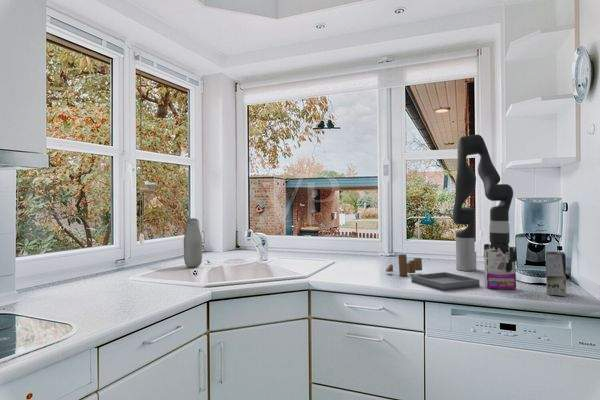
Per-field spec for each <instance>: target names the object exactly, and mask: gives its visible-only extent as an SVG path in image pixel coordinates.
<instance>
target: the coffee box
mask: <svg viewBox="0 0 600 400" xmlns="http://www.w3.org/2000/svg"><path fill="white" fill-rule="evenodd" d="M566 255H567V254H565V252H564V251H545V270H546V271H545V281H546V283H545V284H546V294H547V295H552V296H562V297H565V296H566V295H567V267H566V266H567V261H566V260H567V259H566V257H567V256H566Z"/></svg>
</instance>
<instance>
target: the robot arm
mask: <svg viewBox="0 0 600 400" xmlns="http://www.w3.org/2000/svg"><path fill="white" fill-rule="evenodd" d="M488 150H489V149H488V147H487V145H486V142H485V140H484V138H483V137H482V135H481V134H472V135H471V134H470V135H465V136H464V135H463V136H460V137H459V138H458V140H457V154H456V155H457V156H456V157H457V159H456V160H457V165H456V175H455V176H456V178H455V193H454V205H453V210H452V211H453V212H452V221H453V223H454V224H455V225H460V226H461V225H462V226H463V225H467V227H465V228H463V229H462V230H458V231H456V233H455V251H456V252H455V257H456V258H455V268H456V270H458V271H463V272H465V271H467V272H471V271H476V270H477V251H476V249H475V248H476V245H475V241H476V240H475V238H476V237H475V236H476V235H475V230H476V229H475V228H476V227H475V224H476V210H475V209H474V207H470V206H469V207H464V206H463V204H464V203H465V202H466V200H467V199H469V198H470V197H471V196H472V194H473V193H474V191H475V190H476V183H477V176H476V174H475V172H474V170H473V169H472V168H471V167H470V165H469V164H468V162H467V161H468V160H467V158H468V156H472V155H473V156H474V155H479V157H480V158H479V162H478V164H477V173H478V176H479V177H480V179H481V181H482V183H483V188H484V195H485V197H486V199H487V200H489V201H491V202H498V201H499V204H498V205H496V206H492V207H491V208H490V210H489V242H490V243H485V244H484V245H483V250H484V249H493V250H499V252H500V254H501V255H502V257H503V258H504V259H505V260H506V262H507V263H506V272H511V270H512V262H515V263H516V262H517V261H518V259H517V247H516V246H510V245H509V244H510V240H511V239H510V234H511V233H510V232H511V231H510V230H511V229H510V222H509V220H510V216H509V215H510V213H509V211H510V209H511V208H510V207H511V204H512V200H513V198H514V189H513V188H512V186H511V185H510V184H507V183H502V184H501V183H500V181H501V176H500V174H499V172H498V171H497V168H496V167H495V166H494V164H493V161H492V159H491V156H490V154H489V151H488ZM499 183H500V184H499ZM506 251H507V252H508V251H509V252H510V255H505V253H506Z"/></svg>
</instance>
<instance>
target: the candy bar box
mask: <svg viewBox="0 0 600 400" xmlns="http://www.w3.org/2000/svg"><path fill="white" fill-rule="evenodd" d="M505 255H510V252H509V251H508V252H507V251H506V253H505ZM483 258H484V260H483V261H484V286H485V288H486V289H487V290H504V291H505V290H506V291H507V290H509V291H511V290H512V291H516V290H517V272H516V267H517V266H516V265H517V264H516V261H515V262H512V270H511V272H506V263H507V262H506V260H505V259H504V258H503V257H502V255H501V254H500V252H499V250H493V249H484V248H483Z"/></svg>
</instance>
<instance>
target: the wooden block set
mask: <svg viewBox="0 0 600 400" xmlns="http://www.w3.org/2000/svg"><path fill="white" fill-rule="evenodd" d="M407 258H408V257H407V254H406V253H399V254H398V258H397V259H398V270H399V271H398V272H399V276H401V277H402V276H403V277H406V276H408V274H416V271H417V272H421V271H423V261H422V258H421V257H414V258H413V260H407ZM385 272H387V273H389V272H390V273H391V272H394V265H393V264H392V263H391V264H389V265H388V267H387V268H386V269H385Z"/></svg>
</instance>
